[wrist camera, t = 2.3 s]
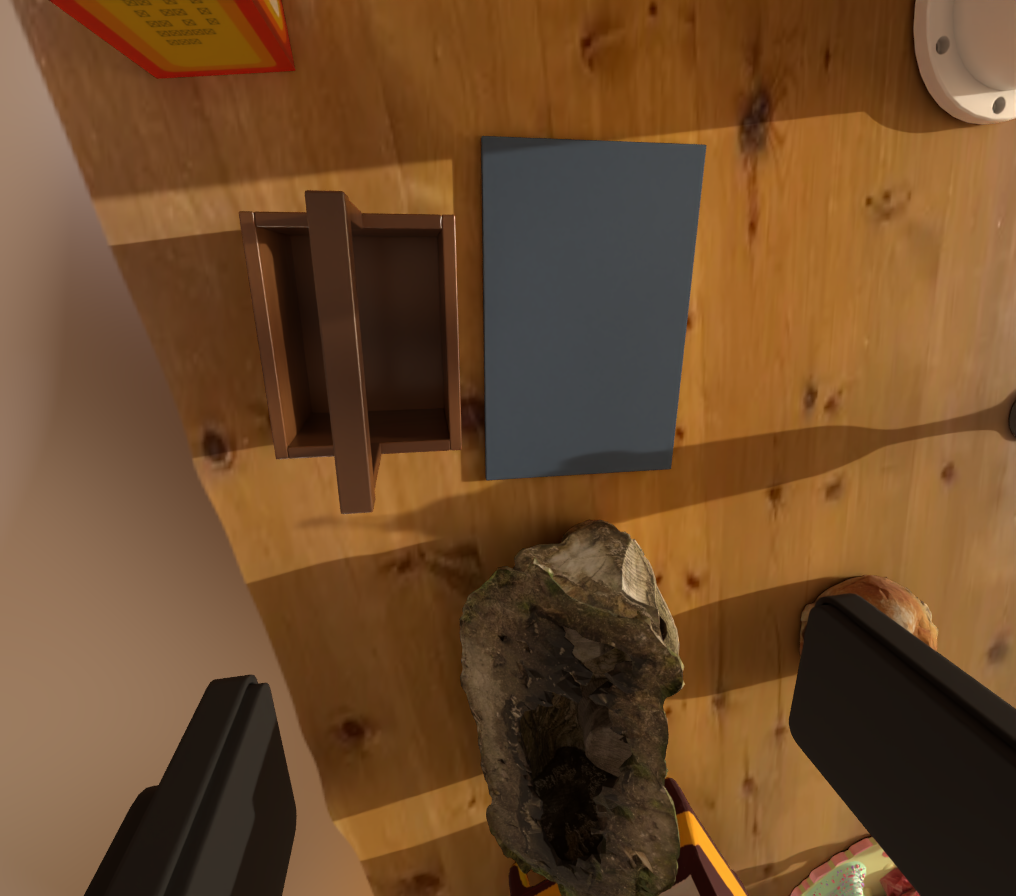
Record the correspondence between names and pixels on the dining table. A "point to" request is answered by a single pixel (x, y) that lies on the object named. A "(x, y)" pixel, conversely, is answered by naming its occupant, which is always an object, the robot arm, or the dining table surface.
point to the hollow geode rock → (577, 712)
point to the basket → (356, 335)
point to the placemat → (585, 301)
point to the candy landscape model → (857, 874)
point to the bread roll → (885, 605)
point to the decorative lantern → (706, 877)
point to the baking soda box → (191, 34)
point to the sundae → (1013, 419)
